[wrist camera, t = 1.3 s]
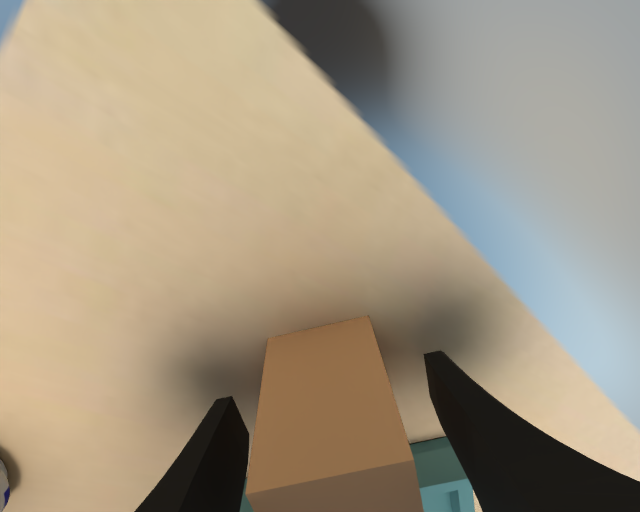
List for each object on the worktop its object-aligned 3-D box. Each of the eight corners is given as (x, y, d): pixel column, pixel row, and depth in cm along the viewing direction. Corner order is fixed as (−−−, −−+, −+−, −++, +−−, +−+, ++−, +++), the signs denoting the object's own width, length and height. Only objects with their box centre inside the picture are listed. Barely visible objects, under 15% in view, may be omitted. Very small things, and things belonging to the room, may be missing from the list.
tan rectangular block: (294, 411, 15) (290, 583, 10) (267, 337, 14) (245, 494, 8) (385, 392, 15) (432, 556, 10) (368, 315, 14) (413, 459, 8)
